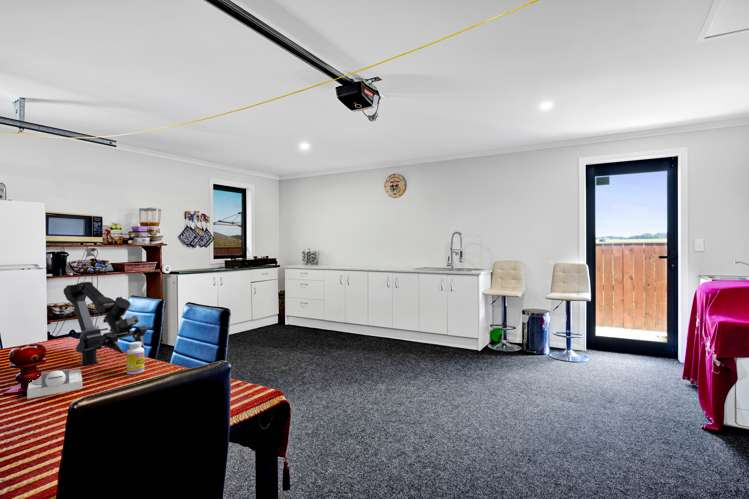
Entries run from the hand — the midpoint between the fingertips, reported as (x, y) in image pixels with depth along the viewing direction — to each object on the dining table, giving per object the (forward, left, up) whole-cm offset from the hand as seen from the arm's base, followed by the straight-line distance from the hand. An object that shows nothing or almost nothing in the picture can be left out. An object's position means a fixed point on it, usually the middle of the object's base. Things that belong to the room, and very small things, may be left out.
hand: (133, 350), depth 174 cm
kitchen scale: (+1, -26, -9) cm, 28 cm away
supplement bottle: (+1, +1, -10) cm, 10 cm away
